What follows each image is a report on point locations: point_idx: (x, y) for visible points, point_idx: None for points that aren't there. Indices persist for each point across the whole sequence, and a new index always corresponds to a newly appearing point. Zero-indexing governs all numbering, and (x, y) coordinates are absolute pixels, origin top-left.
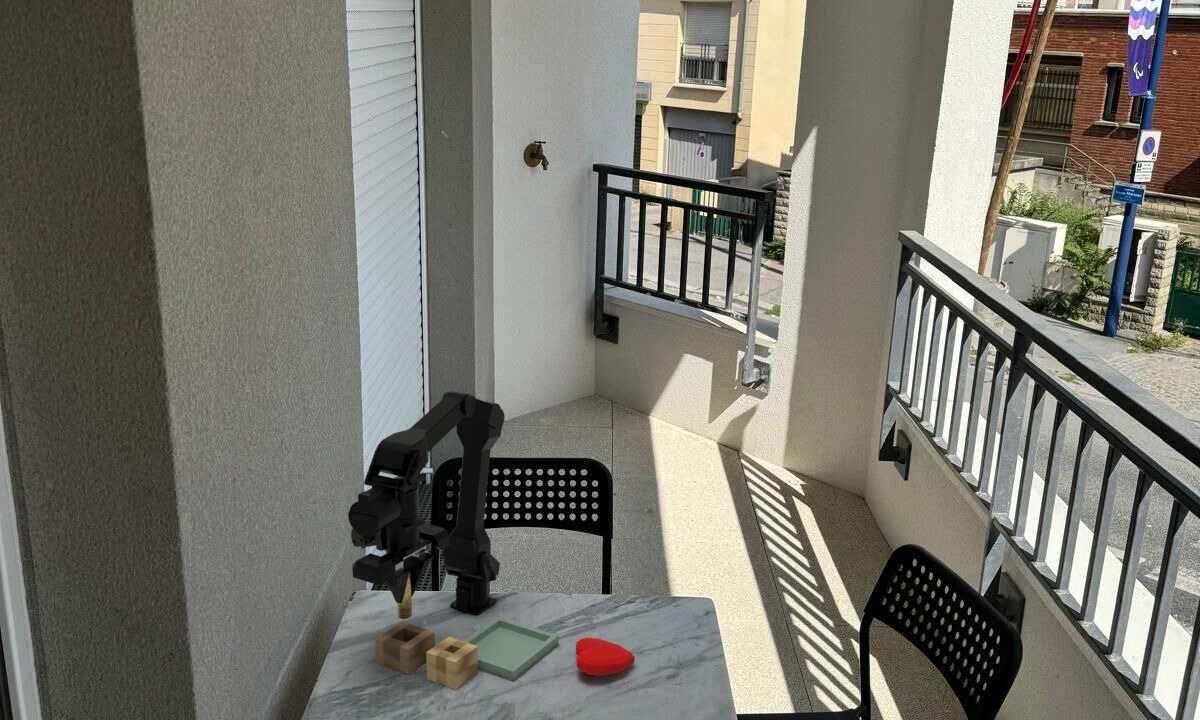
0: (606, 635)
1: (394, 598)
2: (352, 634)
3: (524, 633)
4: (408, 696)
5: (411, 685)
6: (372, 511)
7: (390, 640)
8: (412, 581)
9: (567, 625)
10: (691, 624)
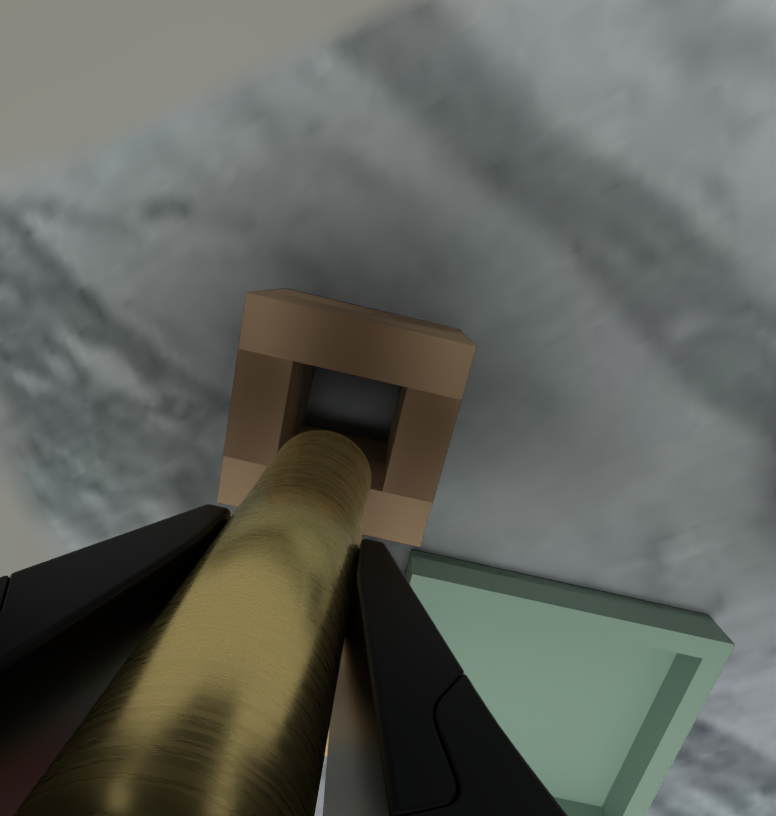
0: None
1: (177, 518)
2: (485, 19)
3: (643, 731)
4: (134, 511)
5: (199, 492)
6: None
7: (260, 381)
8: (338, 746)
9: (748, 807)
10: None
